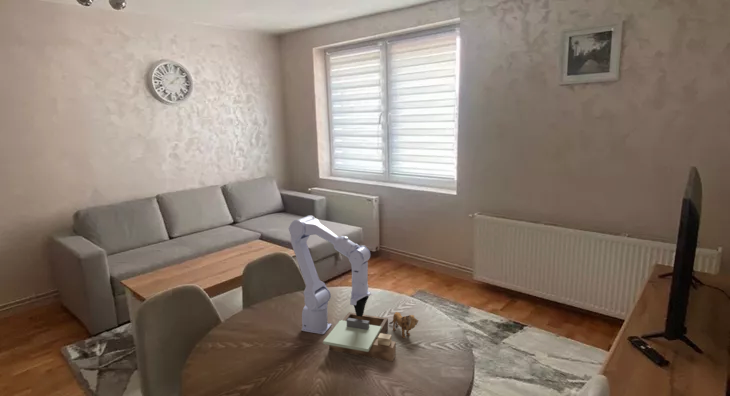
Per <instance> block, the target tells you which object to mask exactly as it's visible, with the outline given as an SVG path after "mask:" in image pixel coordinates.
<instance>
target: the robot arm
mask: <svg viewBox="0 0 730 396" xmlns="http://www.w3.org/2000/svg"><path fill="white" fill-rule="evenodd" d="M288 231H289V234H290V244H291V247H292V249H293V252H294V255H295V258H296V261H297V264H298V267H299V269H300V272H301V275H302V278H303V280H304V284H305V288H304V289H303V290H304V291H303V296H304V307H303V308H302V312H301V325H302V326H301V329H300V330H301V331H303V332H308V333H314V334H318V335H325V334H326V333H327V331H328V330H329V329H330V328H331V326H332V323H328V321H329V319H328V317H329V315H328V304H329V301H330V300H331V297H332V295H331V294H332V293H331V291H330V289H329V288H328V287H327V286H326V282H324V281H322V280H320V277H319V274H318V272H317V268H316V266H315V263H314V260H313V258H312V255H311V252H310V248H309V246H308V243H307V241H308V240H309V238H310V236H314V235H316V236H318V237H319V238H322V239H323V240H325V241H326V242H329V243H330V244H331V245H333V249H334V250H335V251H337V252H338V253H340V254H341V255H343V256H344V257H346V258H348V261H349V263H350V265H351V293H350V295H351V296H350V297H351V298H350V301H349V302H350V305H351V306H353V308H354V310H355V311H354V312H355V313H356V316H360V317H362V316H363V315H364V312H365V308H366V304H367V302H368V300H369V297H370V296H371V295H372V292H370V291H369V284H368V283H369V282H368V280H369V278H368V277H369V276H368V274H369V273H368V271H369V269H368V268H369V263H368V261H369V260H370V258H371V256H372V255H371V251H370V249H369V248H368V247H367V246H366V245H359V244H358V243H356V242H354V241H352V240H351V239H349V237H348V236H347V235H337V234H336V233H334V232H333V231H332V230H331V229H329V228H328V227H326V226H325V225H323V224H322V223H321V222H320V219H318V218H316V217H315V216H314V215H311V214H310V215H306V216H304V217H301V218H298V219H294V220H292V222H290V225H289V226H288Z"/></svg>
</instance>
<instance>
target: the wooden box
mask: <svg viewBox="0 0 730 396" xmlns="http://www.w3.org/2000/svg"><path fill="white" fill-rule="evenodd" d="M348 318H354V319H360V320H367V321H369V325H375V326H382V329H381V331H380V333H383V334H388V333H387V332H388V331H389V330H388V329H389V318H388V317H382V316H377V315H376V316H375V315H369V314H363V316H362V317H360V316H356V312H355V313H354V312H347V314H346V315H345V317H344V318H343V319H342V320H343V321H347V319H348ZM380 333H379V334H380ZM379 334H378V336H379ZM378 336H377V338H376V339H375V341H374V343H373V345H372V346H371V348H370V350H369V351H368V352H366V351H360V350H355V349H349V348H343V347H338V346H332V345H328V347H329V349H328V350H329V351H332V352H339V353H344V354H350V355H355V356H361V357H365V358H372V359H378V360H382V361H387V362H388V361H389V362H393V361H394V359H395V357H396V355H397V354H396V350H397V347H396V345H397V344H396V343H397V341H393V340H391V344H390V345H389V346H386V345H380V344H378Z"/></svg>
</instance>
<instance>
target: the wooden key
mask: <svg viewBox="0 0 730 396" xmlns="http://www.w3.org/2000/svg"><path fill="white" fill-rule="evenodd" d="M391 341H392V334H389V333H386V334H383V333H380V334H379V336H378V344H380V345H386V346H389V345H390V344H391Z"/></svg>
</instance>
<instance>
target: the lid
mask: <svg viewBox="0 0 730 396" xmlns="http://www.w3.org/2000/svg"><path fill="white" fill-rule="evenodd" d="M381 329H382V326H375V325H369V321H367V320H360V319H354V318H348V319H347V321H343V319H342V320H341V319H340V320H339V321H338V322H337V323H336V325H335V326H334V327H333V329H331V331H330V332H329V333H328V335H327V336H326V337H325V338H324V339H323V341H322V344H323V345H326V346H329V345H332V346H338V347H343V348H349V349H355V350H360V351H366V352H368V351H369V350H370V348H371V346H372V345H373V343H374V341H375V339H376V338H377V336H378V334H379V333H380V331H381Z"/></svg>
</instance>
